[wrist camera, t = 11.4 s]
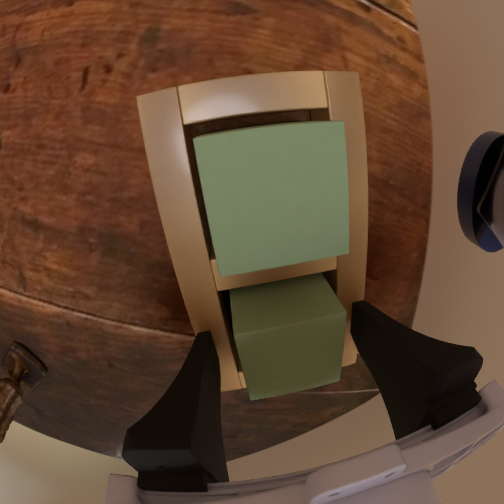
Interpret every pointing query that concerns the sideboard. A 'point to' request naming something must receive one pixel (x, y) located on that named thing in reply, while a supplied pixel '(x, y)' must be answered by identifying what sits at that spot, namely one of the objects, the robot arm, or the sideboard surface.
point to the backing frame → (191, 202)
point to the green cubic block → (275, 194)
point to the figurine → (17, 382)
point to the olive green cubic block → (288, 334)
